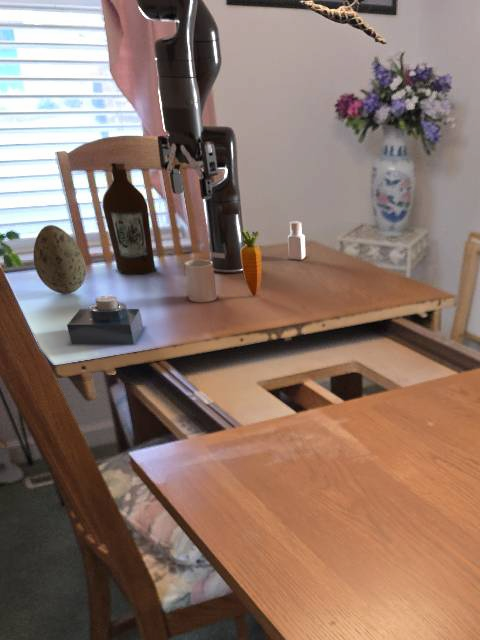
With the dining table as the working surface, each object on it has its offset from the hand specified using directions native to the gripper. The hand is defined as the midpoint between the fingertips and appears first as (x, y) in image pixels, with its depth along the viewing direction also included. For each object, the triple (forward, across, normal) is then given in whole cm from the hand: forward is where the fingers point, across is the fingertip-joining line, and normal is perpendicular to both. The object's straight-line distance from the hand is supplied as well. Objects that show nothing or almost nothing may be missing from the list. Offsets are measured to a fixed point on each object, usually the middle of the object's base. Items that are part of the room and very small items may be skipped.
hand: (192, 195), depth 146 cm
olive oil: (+24, +40, -12) cm, 48 cm away
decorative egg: (+24, +35, +12) cm, 44 cm away
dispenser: (+24, +3, +24) cm, 34 cm away
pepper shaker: (+24, +16, -49) cm, 57 cm away
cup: (+24, +8, -6) cm, 26 cm away
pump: (+18, +2, +23) cm, 30 cm away
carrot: (+24, 0, -16) cm, 29 cm away
